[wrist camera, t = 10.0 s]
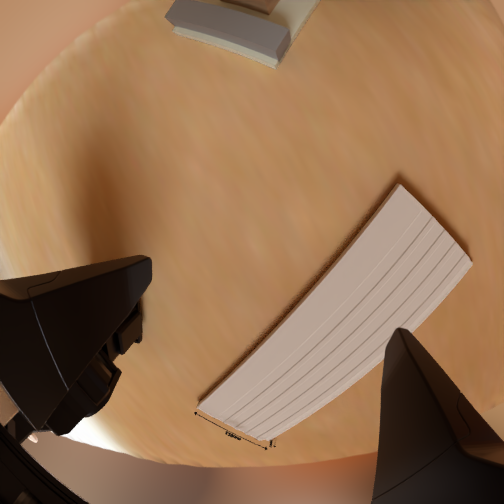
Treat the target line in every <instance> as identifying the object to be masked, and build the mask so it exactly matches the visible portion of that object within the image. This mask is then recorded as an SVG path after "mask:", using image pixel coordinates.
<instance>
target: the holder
mask: <svg viewBox="0 0 504 504" xmlns="http://www.w3.org/2000/svg"><path fill="white" fill-rule="evenodd" d="M320 1H321V0H280V1H279V2H278V4H277V5H276V6H275V8H274V9H273V11H272V12H271V14H270V15H266V14H263V13H260V12H257V11H254V10H251V9H248V8H244V7H241V6H238V5H234V4H230V3H226V2H223V1H220V0H175V2H174V3H173V5H172V6H171V8H170V9H169V11H168V12H167V14H166V15H165V17H164V18H166V19H167V20H168V21H169V22H171V23H172V24H173V25H174V26H175V27H174V29H173V30H172V31H173V32H174V33H175V34H176V35H179V36H183V37H186V38H190V39H193V40H197V41H200V42H204V43H207V44H210V45H213V46H216V47H219V48H222V49H225V50H228V51H231V52H233V53H236V54H239V55H241V56H244V57H247V58H249V59H252V60H254V61H257V62H259V63H262V64H264V65H266V66H269V67H271V68H273V69H277V68H278V66H279V64H280V63H281V61H282V59H283V58H284V56H285V54H286V53H287V51H288V50H289V48H290V46H291V45H292V43H293V42H294V40H295V38H296V37H297V35H298V34H299V32H300V31H301V29H302V27H303V26H304V24H305V23H306V21H307V20H308V18H309V17H310V15H311V14H312V12H313V11H314V9H315V8H316V6H317V5H318V3H319V2H320Z"/></svg>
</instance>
